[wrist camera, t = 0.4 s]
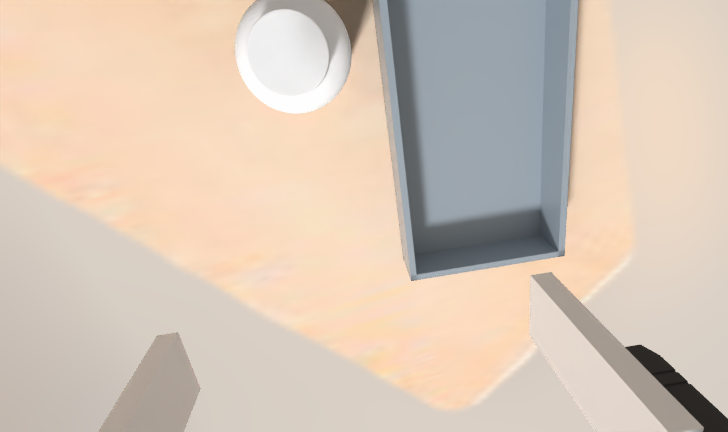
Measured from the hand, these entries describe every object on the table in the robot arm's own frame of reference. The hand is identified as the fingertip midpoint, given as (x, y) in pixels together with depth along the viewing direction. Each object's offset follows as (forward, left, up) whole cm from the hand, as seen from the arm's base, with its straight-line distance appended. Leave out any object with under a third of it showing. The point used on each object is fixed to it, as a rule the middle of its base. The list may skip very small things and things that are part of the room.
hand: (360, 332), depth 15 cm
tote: (-2, +12, -26) cm, 29 cm away
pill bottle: (-10, -2, -26) cm, 28 cm away
